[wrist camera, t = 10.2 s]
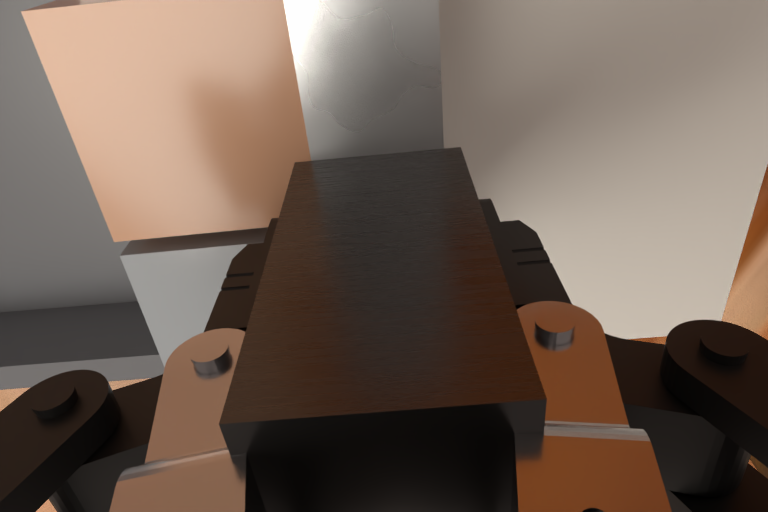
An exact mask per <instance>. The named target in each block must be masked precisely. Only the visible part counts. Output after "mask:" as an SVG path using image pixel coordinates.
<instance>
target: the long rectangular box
mask: <svg viewBox="0 0 768 512" xmlns="http://www.w3.org/2000/svg"><path fill="white" fill-rule="evenodd" d="M438 1H439V28H440V55H441V82H442V109H443V136H444V148H455V147H461V149H462V152H463V155H464V158H465V161H466V164H467V167H468V170H469V173H470V176H471V178H472V181H473V184H474V187H475V190H476V193H477V196H478V199H489V198H490V199H491V200H492V202H493V205H494V207H495V210H496V212H497V215H498V217H499V220H500V222H502V221H514V220H520V221H521V222H523V223H524V224H526V225H527V226H528V227H530V228H531V229H533V230H534V231H536V232H537V234H538V236H539V238H540V240H541V242H542V244H543V246H544V250H546V252H547V254H548V256H549V258H550V263H552V264H553V266H554V269H555V271H556V273H557V275H558V277H559V279H560V281H561V283H562V285H563V287H564V289H565V291H566V293H567V295H568V297H569V299H570V301H571V303H572V305H575V306H578V307H580V308H582V309H584V310H586V311H588V312H589V313H591V314H592V315H593V316H594V317H595V318H596V319H597V320H598V321H599V322H600V324H601V325H602V328H603V330H604V333H606V334H608V335H611V336H615V337H618V338H622V339H636V338H649V337H662V336H667V335H668V334H669V332H670V331H671V330H672V329H673V328H674V327H675V326H677V325H679V324H681V323H684V322H687V321H693V320H717V321H721V320H722V316H723V313H724V309H725V306H726V303H727V299H728V296H729V292H730V289H731V286H732V282H733V279H734V276H735V272H736V269H737V265H738V262H739V259H740V255H741V252H742V248H743V245H744V242H745V238H746V235H747V232H748V228H749V225H750V221H751V218H752V215H753V211H754V208H755V205H756V201H757V198H758V194H759V191H760V188H761V184H762V181H763V177H764V174H765V171H766V167H767V164H768V0H438Z"/></svg>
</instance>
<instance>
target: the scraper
mask: <svg viewBox="0 0 768 512" xmlns="http://www.w3.org/2000/svg"><path fill="white" fill-rule="evenodd" d="M283 1H284V7H285V13H286V18H287V24H288V30H289V36H290V41H291V47H292V53H293V59H294V65H295V70H296V76H297V82H298V88H299V93H300V99H301V105H302V111H303V116H304V122H305V128H306V134H307V139H308V145H309V151H310V157H311V161H304V162H295V163H294V167H293V170H292V174H291V177H290V180H289V184H288V187H287V191H286V194H285V198H284V201H283V205H282V208H281V211H280V215H279V218H278V222H277V225H276V229H275V232H274V236H273V239H272V243H271V246H270V249H269V253H268V256H267V260H266V263H265V267H264V270H263V274H262V277H261V280H260V284H259V287H258V291H257V294H256V298H255V301H254V305H253V308H252V311H251V315H250V318H249V322H248V325H247V329H246V332H245V336H244V339H243V343H242V346H241V349H240V353H239V356H238V360H237V363H236V367H235V370H234V374H233V377H232V380H231V384H230V387H229V391H228V394H227V398H226V401H225V405H224V408H223V411H222V415H221V418H220V422H219V426H220V429H221V432H222V434H223V437H224V440H225V442H226V445H227V448H228V451H229V453H230V455H233V454H243V453H247V456H248V459H249V462H250V465H251V468H252V471H253V474H254V477H255V480H256V483H257V486H258V489H259V492H260V495H261V498H262V500H263V503H264V506H265V509H266V512H511V500H512V477H513V455H514V433H527V432H544V426H545V415H546V404H547V398H546V395H545V392H544V389H543V386H542V383H541V381H540V378H539V375H538V372H537V369H536V366H535V363H534V360H533V357H532V354H531V351H530V348H529V345H528V342H527V340H526V337H525V334H524V331H523V328H522V325H521V322H520V319H519V316H518V313H517V310H516V307H515V304H514V301H513V299H512V296H511V293H510V290H509V287H508V284H507V281H506V278H505V275H504V272H503V269H502V266H501V263H500V260H499V258H498V255H497V252H496V249H495V246H494V243H493V240H492V237H491V234H490V231H489V228H488V225H487V222H486V219H485V217H484V214H483V211H482V208H481V205H480V202H479V199H478V196H477V193H476V190H475V187H474V184H473V181H472V178H471V176H470V173H469V170H468V167H467V164H466V161H465V158H464V155H463V152H462V149H461V147H455V148H444V136H443V109H442V82H441V55H440V28H439V1H438V0H283Z"/></svg>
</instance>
